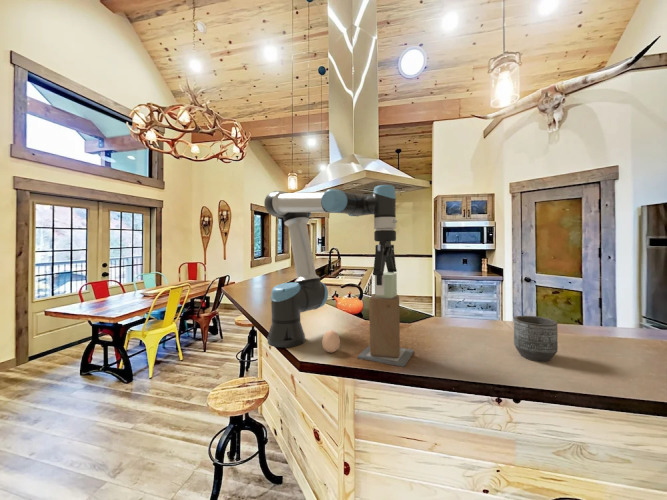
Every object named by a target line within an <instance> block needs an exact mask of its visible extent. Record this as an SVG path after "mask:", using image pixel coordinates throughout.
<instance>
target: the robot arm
mask: <svg viewBox="0 0 667 500" xmlns="http://www.w3.org/2000/svg"><path fill="white" fill-rule="evenodd" d="M396 200H397V196H396V187H395V186H394V185H391V184H380V185H376V186H374V187H373V192H372V193H368V194H367V193H366V194H358V193H353V192H350V191H349V192H348V191H344V190H341V189H338V188H336V189H335V188H329V189H327V190H326V191H310V192H307V191H306V192H289V191H288V192H287V191H284V190H283V191H281V190H274V191H271V192H269V193H268V194H267V195H266V196H265V198H264V203H263V204H264V208H265V211H266V212H267V213H268V214H269V215H270V216H272V217H275V218H280V219H281V218H282V220H283V224H284V225H285V226H286V227H288V232H289V238H290V244H291V250H292V255H293V261H294V262H293V263H294V268H295V273H296V279H295V280H294V282H285V283H280V284H276V285H275V286H273V288H272V289H271V295H270V300H271V301H270V302H271V303H270V304H271V325H270V328H269V332H268V335H267V344H268V345H269V346H271V347H274V348H292V347H297V346H300V345H302V344H303V343H304V342H306V341H305V340H306V335H305V332H304V327H303V326H302V322H301V313H305V312H308V311H312V310H313V311H314V310H318V309H320V308H323V307H324V305H325V304H326V302H327V301H328V298H329V289H328V288H327V286H326V284H325V283H323V281H321V277H320V276H319V275H317V273H316V268H315V262H314V261H315V260H314V257H313V252H312V247H311V241H310V235H309V229H308V223H309V221H310V217H311V216H312V213H315V214H317V213H318V214H319V213H325V214H326V213H327V214H330V213H331V214H346V215H348V216H350V217H361V216H368V215H369V216H370V215H373V217H374V218H373V229H374V230H375V231H374V233H373V235H374V237H373V238H374V241H375V242H378V244H375V247H374V248H375V254H374V262H373V270H372V276H375V275H376V295H384V275H383V273H385V272H384V271H385V266H386V269H387V272H386V273H397V271H398V270H397V266H396V265H397V264H396V257H395V244H392V242H395V241H396V240H397V231H396V230H395V229H396V228H397V227H396V226H397V225H396V224H397V223H398V220H397V219H396V218H397V217H396V203H397V201H396Z"/></svg>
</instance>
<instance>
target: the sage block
mask: <svg viewBox="0 0 667 500" xmlns="http://www.w3.org/2000/svg"><path fill="white" fill-rule="evenodd" d="M383 275H384V295H376V275H374V294H375V297H380V298H394V297H395V296H397V295H398V293H397V292H398V289H397V287H398V286H397V284H398V283H397V282H398V281H397V279H398V278H397V272H394V273H387V272H383Z"/></svg>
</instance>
